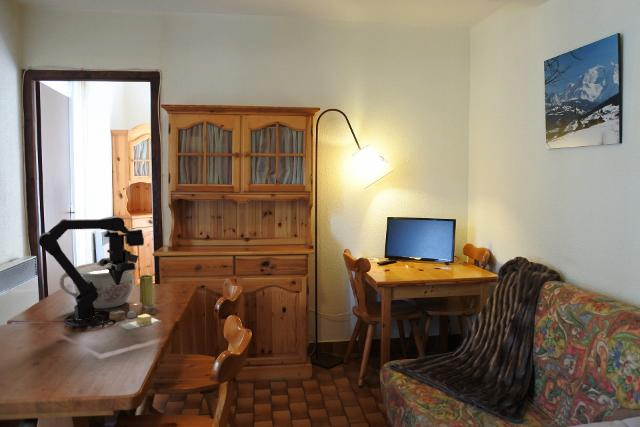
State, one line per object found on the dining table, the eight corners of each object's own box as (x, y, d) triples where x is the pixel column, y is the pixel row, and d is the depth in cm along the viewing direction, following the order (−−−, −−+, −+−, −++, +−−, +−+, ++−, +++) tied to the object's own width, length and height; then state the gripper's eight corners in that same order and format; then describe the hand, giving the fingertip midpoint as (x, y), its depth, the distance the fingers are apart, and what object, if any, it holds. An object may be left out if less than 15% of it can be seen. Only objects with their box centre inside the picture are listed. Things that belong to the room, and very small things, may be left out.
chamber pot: (148, 298, 233) (147, 254, 231) (119, 315, 206) (118, 266, 204) (92, 296, 236) (90, 253, 234) (55, 312, 209) (54, 263, 207)
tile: (141, 324, 190) (141, 318, 190) (136, 322, 193) (136, 315, 193) (151, 322, 193) (151, 315, 193) (146, 319, 196) (145, 313, 196)
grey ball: (129, 321, 197) (129, 312, 197) (125, 319, 200) (125, 311, 199) (138, 319, 200) (137, 311, 200) (133, 317, 202) (133, 309, 202)
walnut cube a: (116, 323, 195) (116, 313, 194) (109, 322, 196) (109, 312, 196) (125, 321, 198) (124, 311, 198) (117, 319, 200) (117, 310, 200)
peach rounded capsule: (133, 318, 202) (133, 306, 201) (127, 315, 205) (126, 304, 205) (144, 315, 206) (144, 303, 205) (138, 313, 209) (138, 301, 208)
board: (127, 332, 184) (127, 329, 184) (118, 328, 189) (118, 325, 189) (161, 324, 195) (161, 320, 195) (151, 320, 199) (151, 317, 199)
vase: (149, 310, 213) (148, 277, 212) (136, 309, 214) (135, 277, 213) (156, 306, 219) (156, 274, 218) (144, 305, 220) (143, 274, 219)
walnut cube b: (145, 317, 203) (145, 308, 203) (144, 315, 207) (143, 305, 206) (155, 316, 205) (155, 307, 205) (154, 314, 208) (153, 304, 208)
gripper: (146, 247, 202) (147, 285, 204) (124, 242, 215) (124, 278, 216) (120, 250, 194) (121, 290, 195) (98, 245, 206) (99, 282, 207)
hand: (117, 284), depth 204 cm, fingers closed
